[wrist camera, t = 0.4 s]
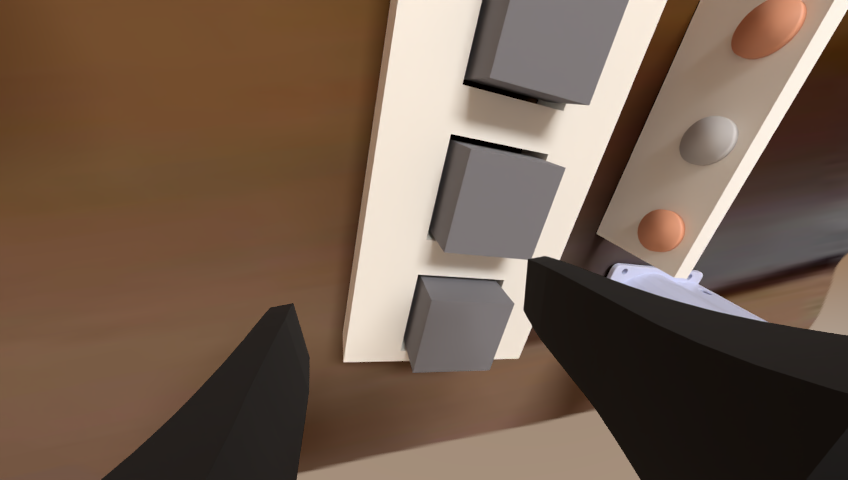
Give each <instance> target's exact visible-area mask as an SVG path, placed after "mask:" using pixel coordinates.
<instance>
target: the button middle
mask: <svg viewBox="0 0 848 480" xmlns="http://www.w3.org/2000/svg"><path fill="white" fill-rule="evenodd" d="M565 169H566V168H565V167H562V166H559V165H556V164H554V163H551V162H548V161H545V160H542V159H539V158H537V157H534V156H530V155H525V154H520V153H515V152H510V151H506V150H501V149H496V148H491V147H486V146H481V145H476V144H471V143H466V142H461V141H456V140H452V139H450V140H449V145H448V149H447V153H446V157H445V162H444V166H443V170H442V175H441V179H440V183H439V187H438V192H437V196H436V200H435V205H434V209H433V213H432V217H431V222H430V226H429V230H430V232H431V233H432V235H433V236H434V238H435V239H436V241H437V242H438V244H439V245H440V247H441V248H442V250H443V251H444V253H456V254H467V255H479V256H490V257H501V258H513V259H524V260H528V259H531V258H532V256H533V254H534V251H535V248H536V246H537V243H538V240H539V238H540V235H541V232H542V230H543V227H544V224H545V222H546V219H547V216H548V214H549V211H550V208H551V206H552V203H553V200H554V198H555V195H556V193H557V190H558V187H559V185H560V182H561V179H562V177H563V174H564V171H565Z"/></svg>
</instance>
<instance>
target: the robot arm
mask: <svg viewBox="0 0 848 480" xmlns="http://www.w3.org/2000/svg"><path fill="white" fill-rule="evenodd" d="M702 276H703V274H702V273H701V272H699V271H697V270H692V271H691V273H690V274H689V276H688V278H687V279H684V278H674V277H672V276H670V275H668V274H667V273H665V272H663V271H661V270H660V269H658V268H656V267H654V266H644V265H633V264H622V263H617V264H615V265H613V266H612V268H611V269H610V271H609V273H608V276H607V278H606V277H604V276H601V275H598V274H596V273H593V272H590V271H588V270H585V269H582V268H580V267H577V266H574V265H572V264H569V263H566V262H563V261H560V260H557V259H554V258H551V257H547V256H542V257H537V258H531V259H528V263H527V274H526V285H525V297H524V308H523V311H524V313H525V314H526V316H527V318H528V320H529V321H530V323H531V325H532V327H533V328H534V330H535V331H536V333H537V335H538V336H539V338H540V339H541V340H542V342H543V343H544V344H545V345H546V347H547V348H548V349H549V351H550V352H551V353H552V354H553V356H554V357H555V358H556V359H557V361H558V362H559V363H560V364H561V366H562V367H563V368H564V369H565V371H566V372H567V373H568V374H569V376H570V377H571V378H572V379H573V381H574V382H575V383H576V384H577V386H578V387H579V388H580V389H581V391H582V392H583V393H584V394H585V396H586V397H587V398H588V400H589V401H590V402H591V404H592V405H593V406H594V408H595V409H596V411H597V412H598V413H599V415H600V417H601V418H602V420H603V421H604V423H605V424H606V426H607V427H608V429H609V430H610V431H611V433H612V435H613V436H614V438H615V439H616V441H617V442H618V444H619V446H620V447H621V449H622V450H623V452H624V454H625V455H626V457H627V458H628V460H629V462H630V463H631V465H632V466H633V468H634V470H635V471H636V473H637V474H638V476H639V478H640V479H641V480H848V336H846V335H840V334H834V333H827V332H821V331H815V330H808V329H802V328H796V327H790V326H785V325H779V324H774V323H769V322H767V321H765V320H763V319H761V318H759V317H758V316H756V315H754V314H752V313H750V312H748V311H746V310H745V309H743V308H741V307H739V306H737V305H735V304H734V303H732V302H730V301H728V300H726V299H724V298H723V297H721V296H719V295H717V294H715V293H713V292H712V291H710V290H708V289H706V288H704V287H702V286H701V285H699V284H698V283H699V282H700V280H701V279H702ZM309 359H310V357H309V354H308V351H307V347H306V344H305V341H304V337H303V334H302V331H301V327H300V324H299V321H298V317H297V314H296V311H295V307H294V304H293V303H292V304H287V305H282V306H277V307H271V308H270V309H269V310H268V311H267V312H266V313H265V314H264V316H263V317H262V318H261V319H260V320H259V322H258V323H257V324H256V325H255V326H254V328H253V329H252V330H251V331H250V332H249V334H248V335H247V336H246V337H245V339H244V340H243V341H242V342H241V343H240V344H239V346H238V347H237V348H236V349H235V350H234V351H233V353H232V354H231V355H230V356H229V357H228V358H227V360H226V361H225V362H224V363H223V364H222V365H221V366H220V367H219V368H218V369H217V371H216V372H215V373H214V374H213V375H212V376H211V377H210V378H209V379H208V380H207V381H206V382H205V383H204V384H203V386H202V387H201V388H200V389H199V390H198V391H197V392H196V393H195V394H194V395H193V396H192V397H191V398H190V399H189V400H188V401H187V402H186V403H185V404H184V405H183V406H182V407H181V408H180V409H179V410H178V411H177V412H176V413H175V414H174V415H173V416H172V417H171V418H170V419H169V420H168V421H167V422H166V423H165V424H164V425H163V426H162V427H161V428H160V429H158V430H157V431H156V432H155V433H154V434H153V435H152V436H151V437H150V438H149V439H148V440H147V441H146V442H144V443H143V444H142V445H141V446H140V447H139V448H138V449H137V450H136V451H134V452H133V453H132V454H131V455H130V456H129V457H128V458H126V459H125V460H124V461H123V462H122V463H120V464H119V465H118V466H117V467H116V468H114V469H113V470H112V471H111V472H110V473H109V474H107V475H106V476H105V477H104V478H103V479H101V480H296V479H297V472H298V465H299V458H300V451H301V445H302V438H303V431H304V424H305V417H306V410H307V402H308V395H309Z"/></svg>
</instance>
